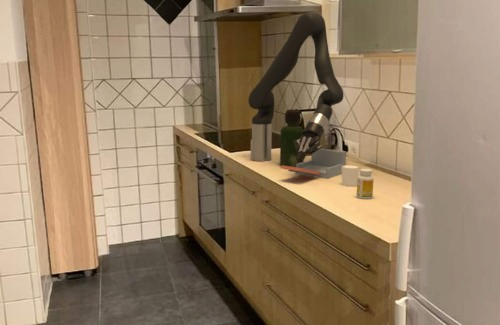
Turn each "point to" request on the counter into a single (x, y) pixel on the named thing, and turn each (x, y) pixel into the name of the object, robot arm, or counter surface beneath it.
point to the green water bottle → (290, 138)
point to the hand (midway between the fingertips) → (298, 161)
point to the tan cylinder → (350, 175)
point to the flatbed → (324, 163)
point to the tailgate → (299, 170)
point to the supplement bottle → (365, 184)
